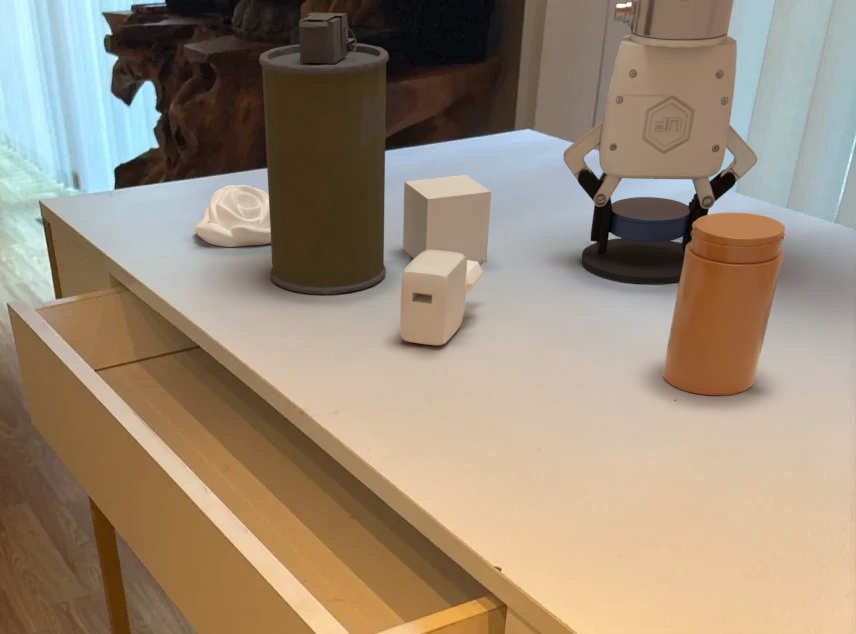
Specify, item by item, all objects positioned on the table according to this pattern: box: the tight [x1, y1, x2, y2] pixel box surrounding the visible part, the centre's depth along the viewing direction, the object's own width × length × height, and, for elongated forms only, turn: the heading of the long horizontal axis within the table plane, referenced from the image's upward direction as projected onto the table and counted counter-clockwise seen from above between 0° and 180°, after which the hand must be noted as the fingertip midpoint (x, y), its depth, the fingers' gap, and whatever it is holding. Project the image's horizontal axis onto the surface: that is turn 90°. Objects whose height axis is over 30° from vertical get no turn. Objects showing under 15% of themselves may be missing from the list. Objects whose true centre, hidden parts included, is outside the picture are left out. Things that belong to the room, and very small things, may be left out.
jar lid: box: [609, 196, 691, 242], centre depth 99 cm, size 7×7×2 cm
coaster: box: [580, 237, 684, 285], centre depth 101 cm, size 11×11×1 cm
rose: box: [193, 184, 271, 248], centre depth 109 cm, size 10×4×10 cm
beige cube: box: [402, 174, 492, 263], centre depth 102 cm, size 6×6×6 cm
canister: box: [258, 12, 390, 295], centre depth 95 cm, size 11×10×20 cm
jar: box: [662, 212, 787, 396], centre depth 78 cm, size 6×6×11 cm
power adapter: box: [399, 250, 484, 346], centre depth 89 cm, size 11×5×6 cm, turn 157°
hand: (644, 248), depth 100 cm, fingers closed on jar lid, 6 cm apart
